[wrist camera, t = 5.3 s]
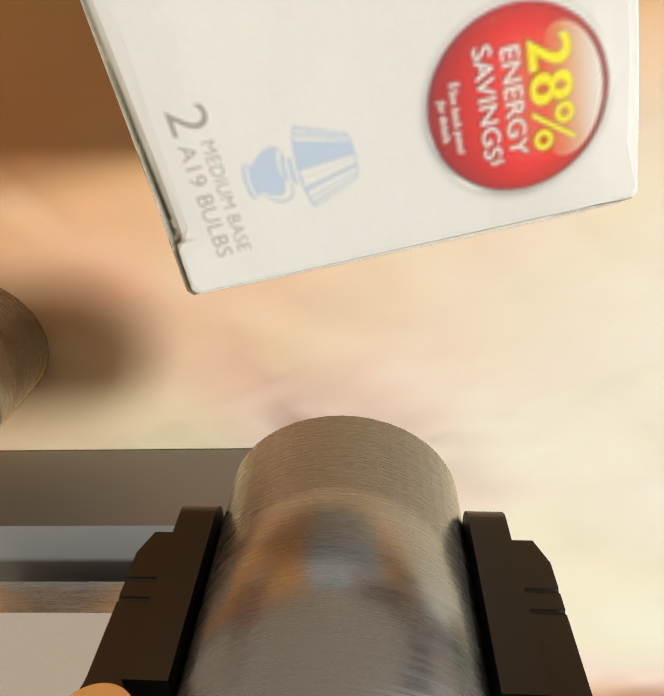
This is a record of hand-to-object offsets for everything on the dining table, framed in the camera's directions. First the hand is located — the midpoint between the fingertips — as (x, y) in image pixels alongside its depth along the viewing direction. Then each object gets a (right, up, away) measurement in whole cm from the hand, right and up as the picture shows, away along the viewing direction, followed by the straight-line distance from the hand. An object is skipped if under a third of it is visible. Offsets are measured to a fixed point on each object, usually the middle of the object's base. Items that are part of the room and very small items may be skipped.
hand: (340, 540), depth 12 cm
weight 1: (0, 0, +1) cm, 1 cm away
